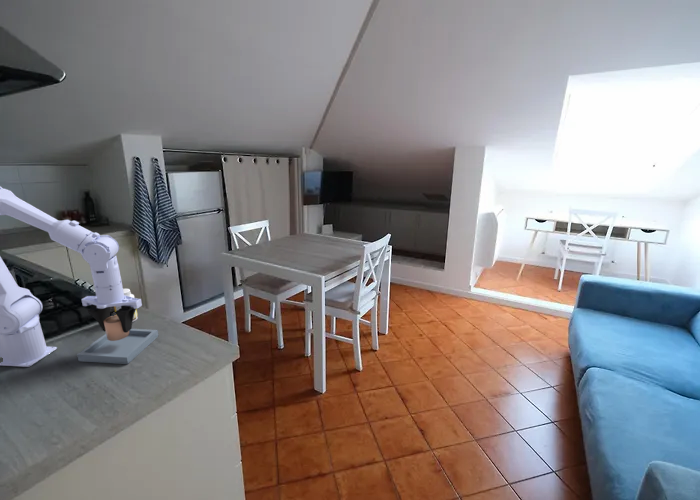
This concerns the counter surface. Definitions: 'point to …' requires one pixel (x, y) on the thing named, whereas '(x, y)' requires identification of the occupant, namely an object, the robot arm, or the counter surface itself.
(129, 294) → the supplement bottle
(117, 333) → the terracotta cup
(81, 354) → the tray
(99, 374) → the counter surface
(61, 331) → the counter surface
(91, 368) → the counter surface
